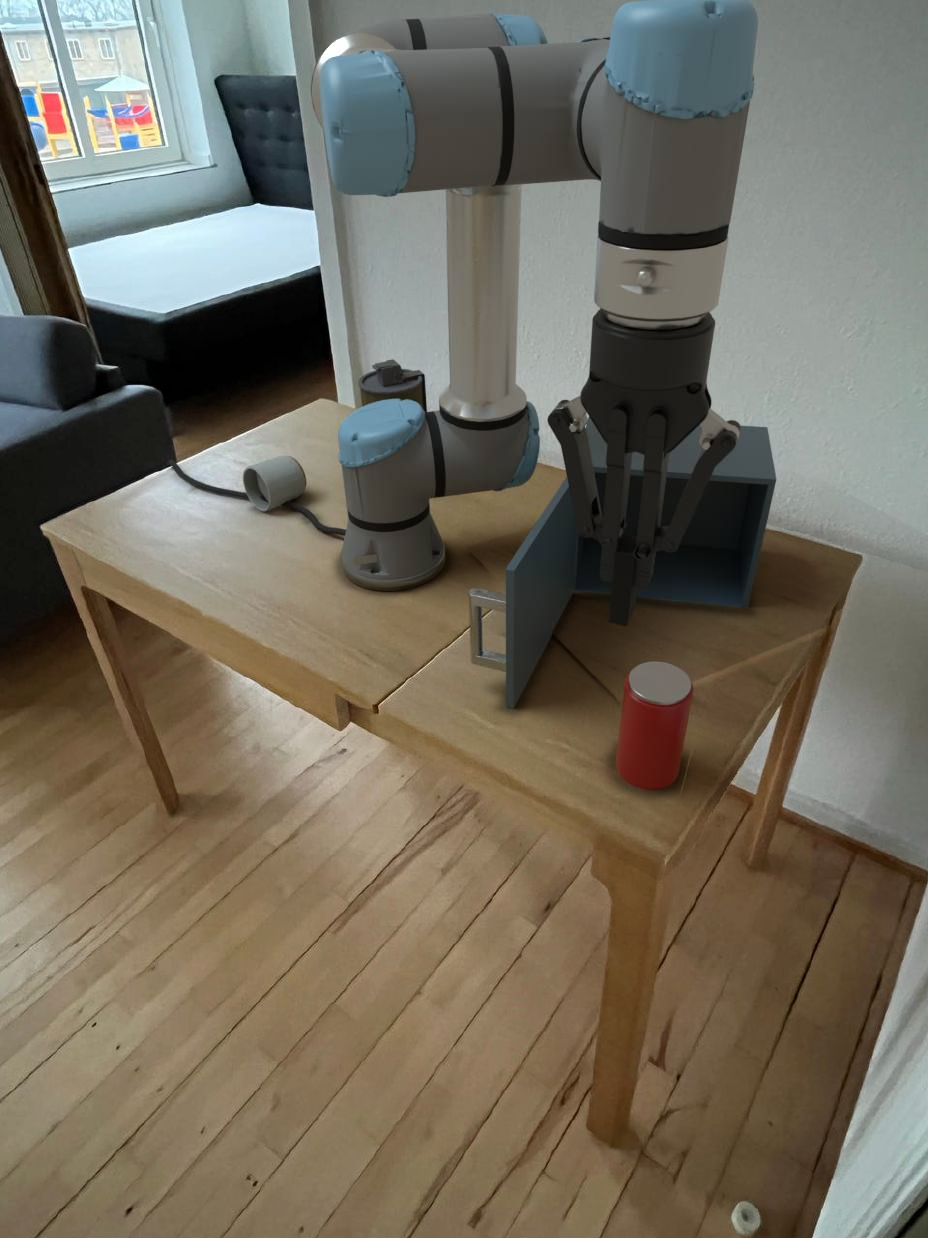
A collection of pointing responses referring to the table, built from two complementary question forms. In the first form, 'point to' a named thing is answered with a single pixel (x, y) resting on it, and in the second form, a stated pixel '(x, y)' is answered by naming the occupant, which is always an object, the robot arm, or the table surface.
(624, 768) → the can
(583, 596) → the table surface
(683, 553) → the fridge
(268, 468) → the ceramic mug
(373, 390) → the canister
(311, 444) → the table surface
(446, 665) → the table surface
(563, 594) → the fridge door
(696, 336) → the robot arm
